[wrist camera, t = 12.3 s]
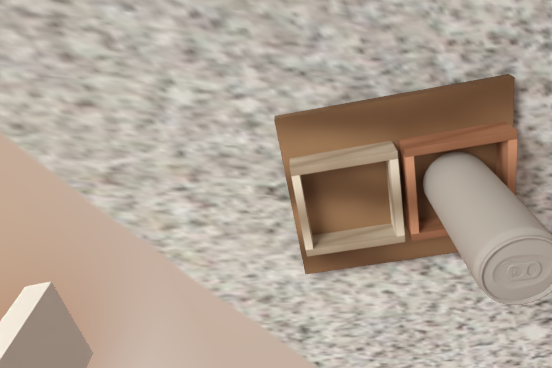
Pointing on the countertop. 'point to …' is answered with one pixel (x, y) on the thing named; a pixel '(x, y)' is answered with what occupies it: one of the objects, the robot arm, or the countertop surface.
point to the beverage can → (490, 229)
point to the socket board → (388, 168)
